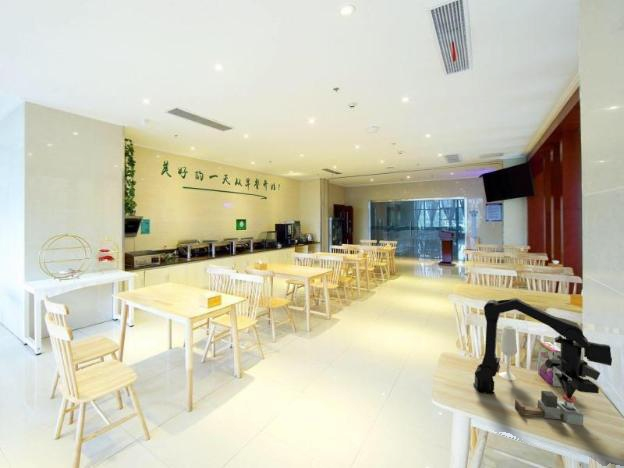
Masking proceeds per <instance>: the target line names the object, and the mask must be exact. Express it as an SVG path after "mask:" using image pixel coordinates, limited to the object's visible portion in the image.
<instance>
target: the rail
mask: <svg viewBox="0 0 624 468" xmlns="http://www.w3.org/2000/svg"><path fill="white" fill-rule="evenodd" d="M514 409H515V410H516V412H518V414H519V415H520V416H521V417H525V416H526V415H527V416H535V417H542V418H545V417H544V411H543V410H542V409H541V408H540V407H538V406H530V405H524V404H523V403H522V402H521V401H520V400H519V399H515V400H514ZM561 419H562V420H563V413H562V412H561V411H560V420H561Z"/></svg>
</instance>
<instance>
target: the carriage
mask: <svg viewBox="0 0 624 468" xmlns="http://www.w3.org/2000/svg"><path fill="white" fill-rule="evenodd" d="M540 393H541V396H540V397H541V398H540V399H537V407H540V408H541V409H542V410H543V411H544V417H543V418H545V419H552V420H561V419H560V408H559V407H558V406H557V401H558V396H557V395H556V394H555V393H554V392H552V391H551V390H541V392H540Z"/></svg>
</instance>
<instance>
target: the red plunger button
mask: <svg viewBox="0 0 624 468" xmlns="http://www.w3.org/2000/svg"><path fill="white" fill-rule="evenodd" d="M562 400H563V402H564V408H565V409H566V410H572V411H573V406H574V404H575V403H576V402H577V401H576V400H577V399H576V397H574V395H572V397H571V398H569V397H567V396H566V394H565V393H563V394H562ZM574 407H575V406H574Z"/></svg>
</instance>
